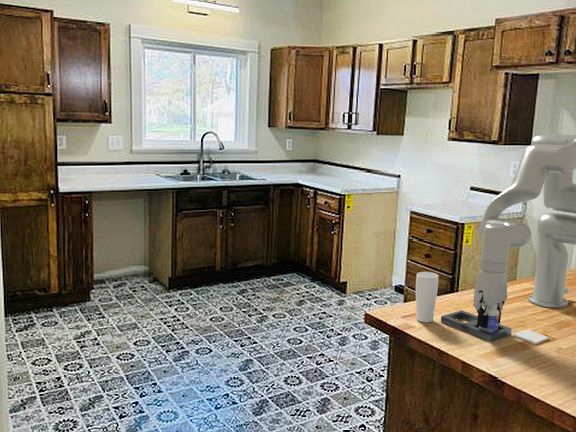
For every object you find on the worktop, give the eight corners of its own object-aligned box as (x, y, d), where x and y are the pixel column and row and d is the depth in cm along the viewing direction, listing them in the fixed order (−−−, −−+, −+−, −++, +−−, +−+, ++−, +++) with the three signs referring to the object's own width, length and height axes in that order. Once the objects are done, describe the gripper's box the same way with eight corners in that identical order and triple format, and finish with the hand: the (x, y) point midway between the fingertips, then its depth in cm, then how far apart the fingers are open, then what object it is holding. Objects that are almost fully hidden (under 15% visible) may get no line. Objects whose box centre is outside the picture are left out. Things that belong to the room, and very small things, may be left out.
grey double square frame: (461, 315, 175) (461, 310, 175) (511, 334, 161) (511, 328, 161) (440, 322, 170) (441, 316, 169) (490, 342, 155) (491, 335, 155)
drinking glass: (439, 320, 172) (442, 274, 169) (428, 326, 167) (432, 279, 164) (420, 314, 176) (423, 270, 173) (409, 320, 171) (412, 274, 168)
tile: (526, 331, 164) (526, 329, 164) (548, 339, 158) (549, 337, 158) (513, 336, 160) (513, 334, 160) (535, 344, 154) (535, 342, 154)
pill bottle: (498, 337, 159) (501, 306, 157) (479, 336, 160) (482, 304, 158) (495, 330, 164) (498, 300, 162) (477, 329, 165) (479, 298, 163)
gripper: (500, 258, 166) (494, 314, 169) (464, 267, 156) (459, 326, 159) (522, 264, 160) (516, 322, 163) (487, 273, 150) (481, 335, 153)
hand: (488, 323), depth 161 cm, fingers closed on pill bottle, 5 cm apart
